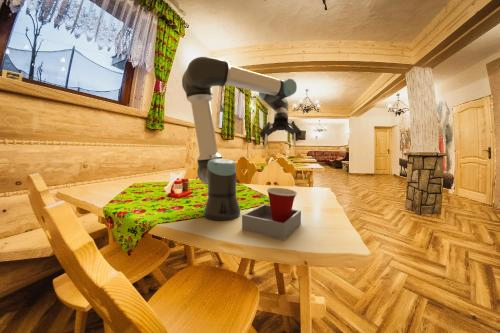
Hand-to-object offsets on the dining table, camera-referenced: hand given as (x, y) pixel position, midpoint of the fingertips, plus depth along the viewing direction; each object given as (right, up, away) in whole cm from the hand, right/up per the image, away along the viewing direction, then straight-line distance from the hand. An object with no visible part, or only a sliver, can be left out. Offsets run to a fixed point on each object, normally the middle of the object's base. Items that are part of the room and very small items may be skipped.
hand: (279, 145), depth 87 cm
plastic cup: (-3, -31, -20) cm, 36 cm away
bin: (-6, -31, -21) cm, 38 cm away
